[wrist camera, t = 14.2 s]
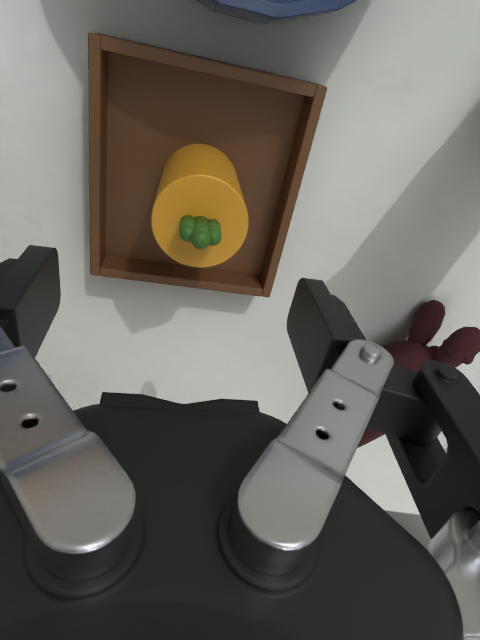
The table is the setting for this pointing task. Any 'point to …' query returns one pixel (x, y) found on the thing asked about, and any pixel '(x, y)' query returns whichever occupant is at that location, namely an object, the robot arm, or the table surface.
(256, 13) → the pot
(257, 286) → the tray
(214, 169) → the pineapple
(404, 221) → the table surface
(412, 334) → the icecream
